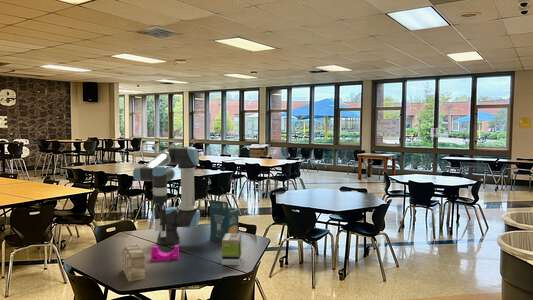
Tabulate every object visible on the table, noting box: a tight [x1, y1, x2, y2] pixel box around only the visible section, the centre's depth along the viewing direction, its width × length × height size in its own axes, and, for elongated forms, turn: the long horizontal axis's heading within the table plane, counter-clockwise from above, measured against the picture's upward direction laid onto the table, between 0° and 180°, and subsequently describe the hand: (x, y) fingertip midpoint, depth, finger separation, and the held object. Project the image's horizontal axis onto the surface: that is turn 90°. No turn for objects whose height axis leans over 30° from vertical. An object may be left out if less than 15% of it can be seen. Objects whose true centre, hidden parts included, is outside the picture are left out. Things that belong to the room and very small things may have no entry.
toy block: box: [150, 244, 180, 262], centre depth 236 cm, size 15×6×8 cm, turn 96°
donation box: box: [209, 199, 240, 243], centre depth 280 cm, size 16×16×28 cm
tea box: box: [221, 232, 242, 266], centre depth 233 cm, size 15×10×15 cm, turn 178°
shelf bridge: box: [122, 243, 146, 282], centre depth 210 cm, size 18×8×14 cm, turn 28°
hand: (160, 233), depth 218 cm, fingers open, 13 cm apart
